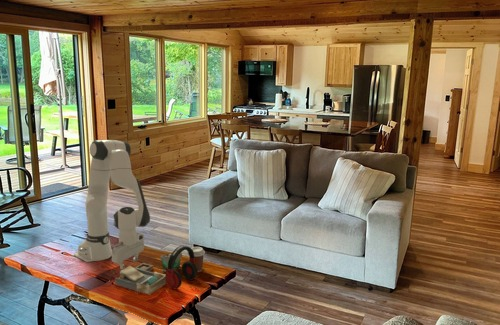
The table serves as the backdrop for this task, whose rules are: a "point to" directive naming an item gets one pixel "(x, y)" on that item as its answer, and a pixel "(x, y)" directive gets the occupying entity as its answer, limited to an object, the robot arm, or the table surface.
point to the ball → (152, 280)
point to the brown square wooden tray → (145, 267)
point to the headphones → (187, 268)
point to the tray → (154, 286)
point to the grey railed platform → (131, 284)
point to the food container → (166, 259)
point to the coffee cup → (198, 257)
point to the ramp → (131, 273)
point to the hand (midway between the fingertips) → (128, 264)
